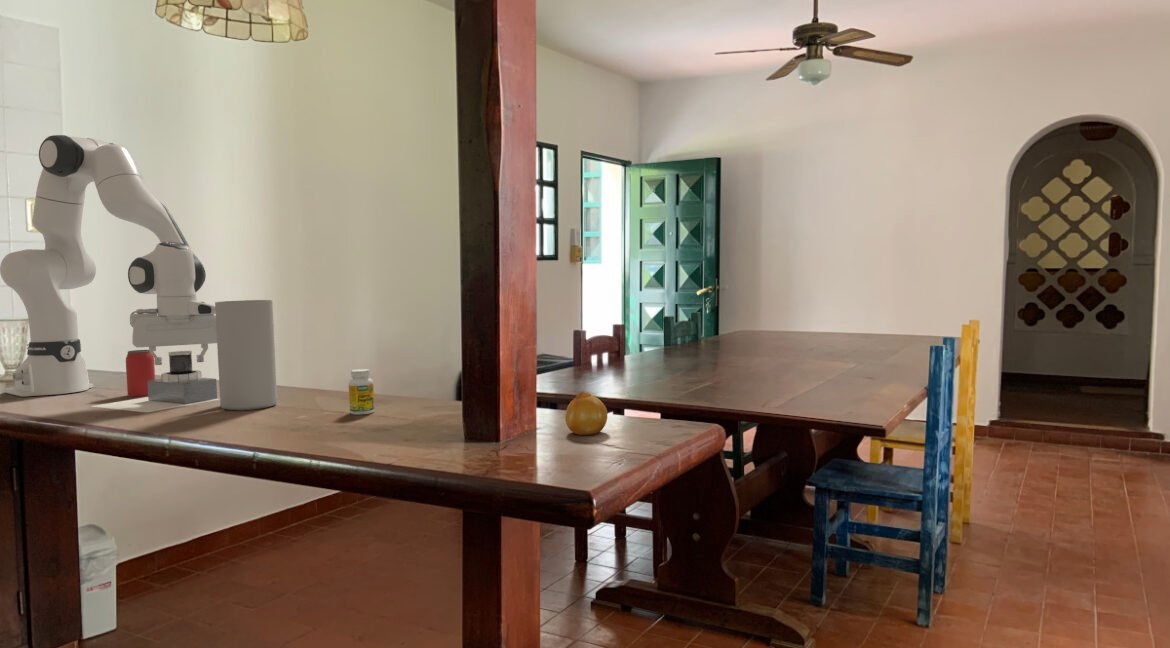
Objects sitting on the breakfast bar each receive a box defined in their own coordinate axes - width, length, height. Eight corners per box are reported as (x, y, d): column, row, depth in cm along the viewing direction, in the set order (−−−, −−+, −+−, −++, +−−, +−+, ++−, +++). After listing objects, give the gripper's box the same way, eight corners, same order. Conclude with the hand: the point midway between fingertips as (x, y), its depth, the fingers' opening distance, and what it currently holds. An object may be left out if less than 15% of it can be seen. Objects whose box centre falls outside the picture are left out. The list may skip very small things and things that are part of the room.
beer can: (121, 398, 215) (118, 352, 214) (142, 394, 221) (139, 349, 221) (142, 398, 213) (139, 352, 212) (162, 394, 220) (159, 349, 219)
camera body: (148, 400, 207) (146, 373, 207) (181, 395, 215) (179, 369, 215) (184, 404, 200) (183, 376, 200) (217, 398, 208) (215, 371, 208)
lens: (168, 381, 204) (166, 353, 204) (172, 379, 209) (170, 351, 209) (191, 380, 205) (189, 352, 205) (194, 377, 210) (193, 350, 210)
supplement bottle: (367, 409, 190) (365, 367, 189) (379, 412, 186) (377, 369, 185) (345, 413, 186) (343, 370, 185) (357, 415, 182) (355, 372, 181)
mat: (90, 407, 201) (90, 406, 200) (166, 395, 218) (166, 394, 218) (147, 414, 190) (147, 412, 190) (222, 400, 207) (222, 399, 207)
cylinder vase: (223, 404, 202) (218, 301, 200) (278, 400, 205) (273, 299, 204) (217, 412, 190) (211, 303, 188) (275, 408, 194) (270, 301, 192)
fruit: (556, 417, 162) (565, 385, 158) (594, 417, 165) (604, 386, 161) (566, 446, 156) (576, 413, 151) (607, 446, 158) (617, 413, 154)
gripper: (129, 310, 198) (132, 367, 199) (222, 307, 209) (225, 361, 210) (128, 308, 203) (131, 365, 205) (219, 305, 214) (221, 359, 215)
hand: (179, 363), depth 207 cm, fingers open, 8 cm apart
